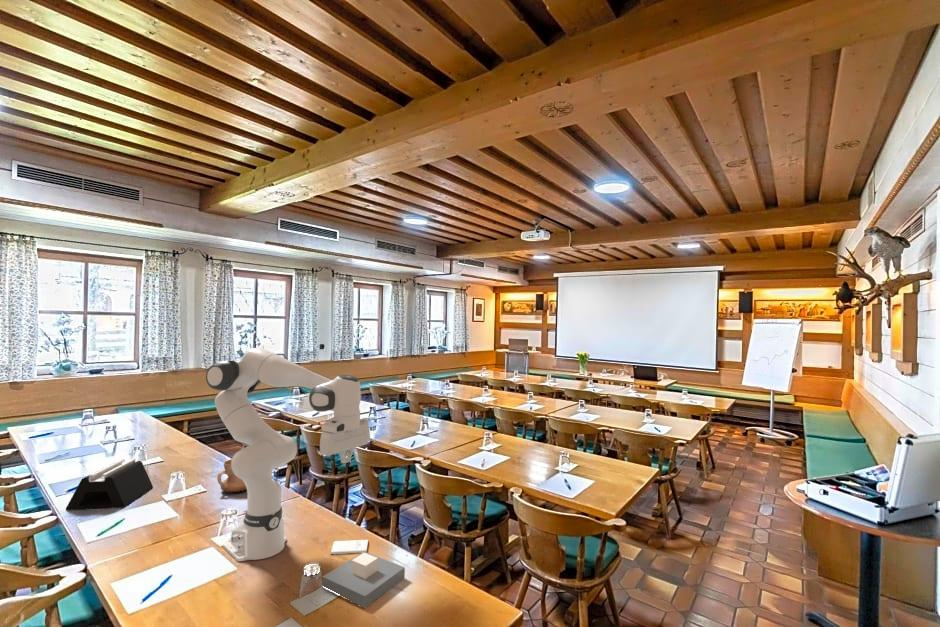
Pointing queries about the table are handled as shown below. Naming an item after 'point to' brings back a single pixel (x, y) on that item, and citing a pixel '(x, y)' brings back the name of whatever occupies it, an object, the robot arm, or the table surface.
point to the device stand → (111, 487)
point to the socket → (364, 581)
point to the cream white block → (364, 565)
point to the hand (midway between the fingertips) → (345, 462)
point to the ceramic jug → (230, 479)
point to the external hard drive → (349, 546)
